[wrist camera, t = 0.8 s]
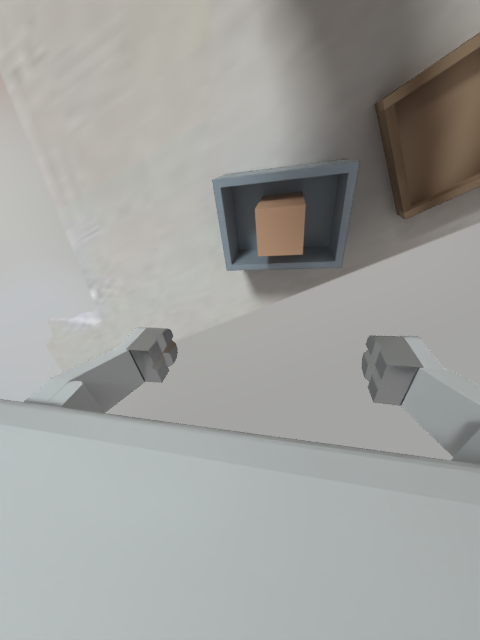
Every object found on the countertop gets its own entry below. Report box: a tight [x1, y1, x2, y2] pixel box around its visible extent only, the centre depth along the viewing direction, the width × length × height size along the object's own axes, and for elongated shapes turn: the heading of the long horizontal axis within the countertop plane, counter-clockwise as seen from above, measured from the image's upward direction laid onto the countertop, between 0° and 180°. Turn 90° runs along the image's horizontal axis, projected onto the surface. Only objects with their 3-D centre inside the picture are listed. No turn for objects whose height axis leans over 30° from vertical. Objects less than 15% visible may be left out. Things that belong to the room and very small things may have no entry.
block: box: [255, 192, 306, 256], centre depth 26 cm, size 5×5×8 cm
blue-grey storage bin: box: [212, 159, 360, 271], centre depth 28 cm, size 11×15×6 cm
